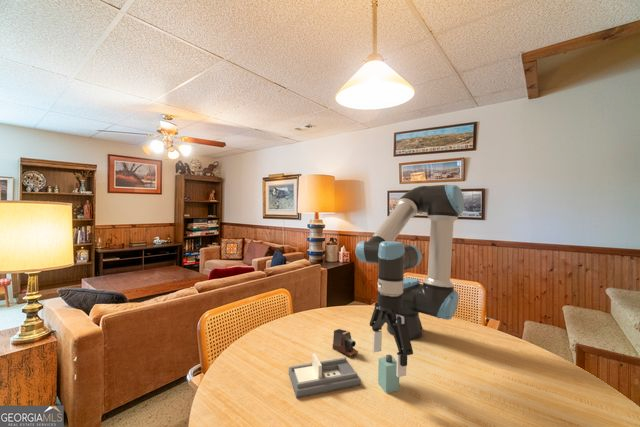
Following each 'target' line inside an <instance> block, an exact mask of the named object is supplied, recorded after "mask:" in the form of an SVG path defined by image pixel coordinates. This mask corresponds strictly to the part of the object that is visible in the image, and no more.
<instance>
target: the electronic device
mask: <svg viewBox="0 0 640 427" xmlns="http://www.w3.org/2000/svg"><path fill="white" fill-rule="evenodd" d="M351 334H352V333H351V332H350V331H349V330H344V329H341V328H338V329H335V330H333V338H332V339H333V340H332V349H333V350H336V351H338V352H340V353H342V354H344V355H346V356H347V357H348V358H352V357H354V356H356V355H357V354H358V353H359V351H358V350H357V349H356V348H354V347H355V346H356V345H357V344H356V341H355V340H353V339H352V335H351Z"/></svg>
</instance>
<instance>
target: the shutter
mask: <svg viewBox="0 0 640 427" xmlns="http://www.w3.org/2000/svg"><path fill="white" fill-rule="evenodd" d="M311 355H312V356H311V361H312V362H311V363H312V366H309V367H303V368H297V369H294V372H295V375H296V377H297V380H298V383H299V382H304V381H310V380H315V379H321V378H322V365H321V363H320V362H321V361H320V359H319V358H318V355H317V354H316V353H312V354H311Z"/></svg>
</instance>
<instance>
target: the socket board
mask: <svg viewBox="0 0 640 427" xmlns="http://www.w3.org/2000/svg"><path fill="white" fill-rule="evenodd" d="M349 362H350V361H348V360H347V358H346V357H339V358H334V359H327V360H323V361H320V363H321V365H322V378H321V379H315V380H310V381H304V382H299V383H298V380H297V377H296V375H295V372H294V369H297V368H303V367H309V366H312V362H311V363H310V362H309V363H304V364H298V365H297V364H296V365H291V366H289V367H288V376H289V379H290V382H291V385H292V389H293V392H294V395H295V398H296V399H299V398H304V397H310V396H313V395H318V394H323V393H329V392H333V391H338V390H339V391H340V390H344V389H349V388H354V387H358V386H361V377H360V376H359V375H358V373H357V371H355V369H354V368H353V367H352V365H351V364H350V363H349Z"/></svg>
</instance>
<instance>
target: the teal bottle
mask: <svg viewBox="0 0 640 427" xmlns="http://www.w3.org/2000/svg"><path fill="white" fill-rule="evenodd" d="M396 368H397V359H395V358H394V357H393V355H391V354H386V355H385V357H384V356H383V357H379V358H378V371H377V372H378V375H377V376H378V378H377V381H378V382H377V383H378V386H379V387H381V389H382V390H383V391H384V393H385V394H388V393H393V392H398V391H400V377H397V376H396Z"/></svg>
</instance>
